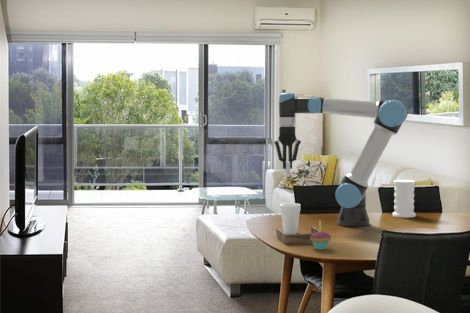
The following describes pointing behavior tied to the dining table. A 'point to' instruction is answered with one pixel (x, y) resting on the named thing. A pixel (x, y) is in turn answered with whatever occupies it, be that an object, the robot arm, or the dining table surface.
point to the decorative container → (404, 198)
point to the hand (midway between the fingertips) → (287, 175)
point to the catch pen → (295, 237)
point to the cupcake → (320, 239)
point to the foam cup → (290, 217)
